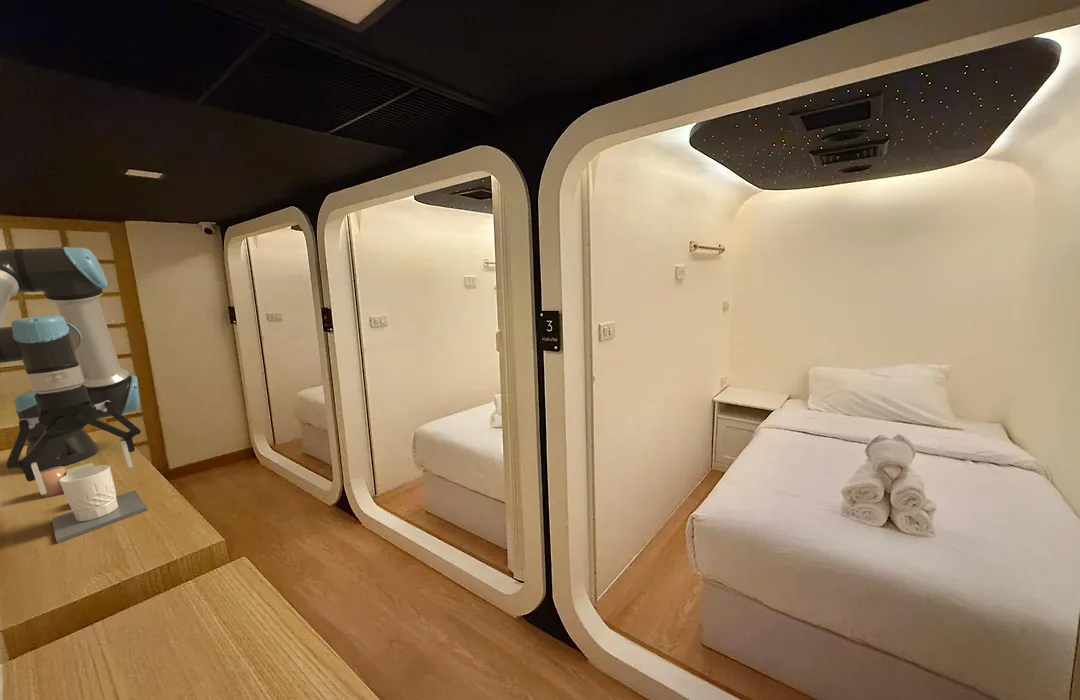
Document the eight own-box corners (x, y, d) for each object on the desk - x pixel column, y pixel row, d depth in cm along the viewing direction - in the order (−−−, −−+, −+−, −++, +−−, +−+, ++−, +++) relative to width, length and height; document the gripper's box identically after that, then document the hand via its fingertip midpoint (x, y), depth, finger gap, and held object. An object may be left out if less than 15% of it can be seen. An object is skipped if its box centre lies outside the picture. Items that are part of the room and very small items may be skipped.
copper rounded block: (54, 488, 112) (47, 468, 111) (76, 485, 113) (70, 464, 112) (36, 498, 107) (29, 477, 106) (60, 495, 108) (53, 473, 107)
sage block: (71, 487, 112) (65, 470, 111) (97, 479, 116) (92, 462, 115) (72, 492, 109) (66, 475, 108) (99, 484, 113) (94, 467, 112)
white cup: (72, 515, 96) (59, 475, 94) (120, 499, 102) (108, 461, 100) (73, 528, 91) (58, 485, 89) (123, 510, 97) (111, 470, 95)
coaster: (52, 521, 96) (51, 518, 96) (135, 493, 106) (135, 490, 106) (57, 543, 87) (56, 540, 87) (147, 510, 98) (146, 506, 98)
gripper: (-38, 409, 79) (1, 511, 83) (141, 375, 98) (164, 460, 102) (-36, 403, 83) (1, 499, 88) (134, 371, 102) (157, 452, 107)
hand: (89, 478), depth 95 cm, fingers open, 13 cm apart
